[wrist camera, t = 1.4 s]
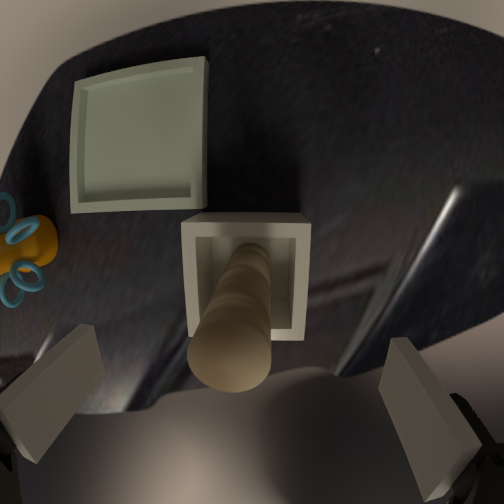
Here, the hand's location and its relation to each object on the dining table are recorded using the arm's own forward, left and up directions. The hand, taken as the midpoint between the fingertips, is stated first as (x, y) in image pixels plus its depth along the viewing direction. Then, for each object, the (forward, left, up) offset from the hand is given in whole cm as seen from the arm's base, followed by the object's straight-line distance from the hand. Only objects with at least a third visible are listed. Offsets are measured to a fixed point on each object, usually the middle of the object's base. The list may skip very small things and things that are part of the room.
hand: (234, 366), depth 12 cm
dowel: (0, 0, -16) cm, 16 cm away
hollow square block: (0, 0, -17) cm, 17 cm away
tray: (-11, +12, -17) cm, 24 cm away
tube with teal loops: (-25, +2, -17) cm, 31 cm away
